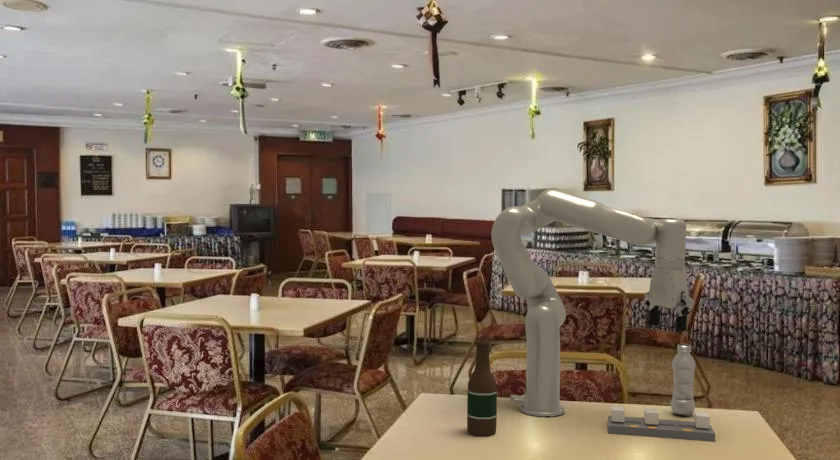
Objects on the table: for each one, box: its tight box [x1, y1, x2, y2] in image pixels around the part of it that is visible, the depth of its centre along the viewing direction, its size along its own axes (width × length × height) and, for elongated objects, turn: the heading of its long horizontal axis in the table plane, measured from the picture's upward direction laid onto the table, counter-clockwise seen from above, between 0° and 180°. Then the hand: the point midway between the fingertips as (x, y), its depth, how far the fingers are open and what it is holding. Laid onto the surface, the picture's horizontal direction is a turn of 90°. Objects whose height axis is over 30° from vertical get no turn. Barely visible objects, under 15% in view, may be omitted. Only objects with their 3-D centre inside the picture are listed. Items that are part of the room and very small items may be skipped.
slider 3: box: [693, 411, 711, 429], centre depth 192 cm, size 3×4×3 cm
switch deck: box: [607, 415, 716, 442], centre depth 194 cm, size 26×10×2 cm, turn 77°
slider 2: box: [643, 407, 660, 425], centre depth 194 cm, size 3×4×3 cm
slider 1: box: [610, 405, 626, 422], centre depth 196 cm, size 3×4×3 cm
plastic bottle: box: [670, 343, 696, 417], centre depth 211 cm, size 6×7×20 cm
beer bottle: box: [466, 338, 498, 437], centre depth 191 cm, size 8×8×24 cm
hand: (667, 327), depth 200 cm, fingers open, 9 cm apart
